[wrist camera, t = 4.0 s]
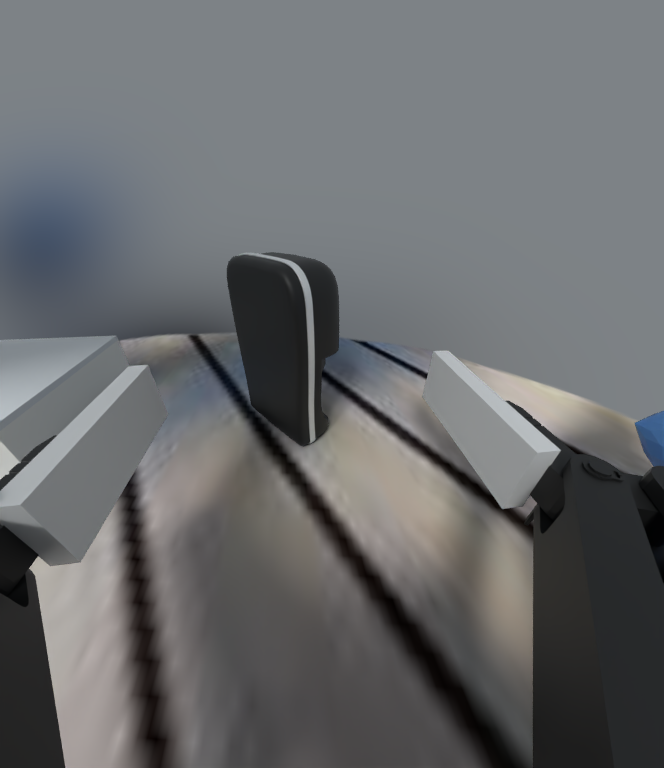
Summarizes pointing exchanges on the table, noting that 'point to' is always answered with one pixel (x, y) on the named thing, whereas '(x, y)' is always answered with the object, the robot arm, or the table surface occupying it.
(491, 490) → the robot arm
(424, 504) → the table surface
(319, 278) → the battery charger
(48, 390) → the stand
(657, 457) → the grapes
